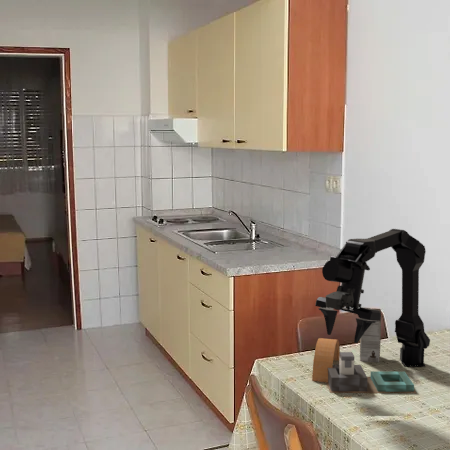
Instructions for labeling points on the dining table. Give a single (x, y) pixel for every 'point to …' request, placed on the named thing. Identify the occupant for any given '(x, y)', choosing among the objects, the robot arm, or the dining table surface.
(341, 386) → the dock
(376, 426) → the dining table surface
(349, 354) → the plug
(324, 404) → the dining table surface
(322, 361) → the arch
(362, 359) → the coffee box
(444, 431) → the dining table surface
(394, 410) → the dining table surface
